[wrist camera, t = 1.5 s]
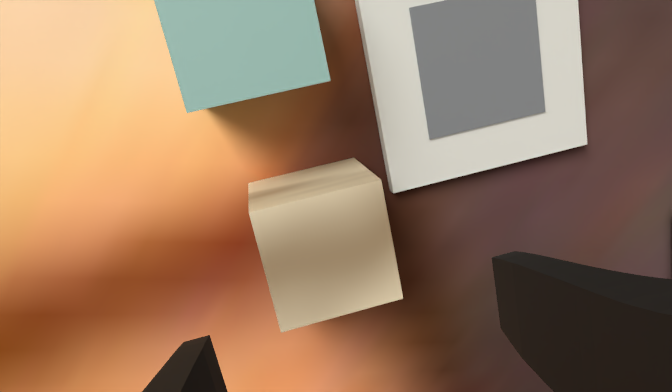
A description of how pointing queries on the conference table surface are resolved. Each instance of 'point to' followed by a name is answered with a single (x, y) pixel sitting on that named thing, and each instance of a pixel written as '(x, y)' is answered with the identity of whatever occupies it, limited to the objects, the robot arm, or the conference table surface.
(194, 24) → the teal cube
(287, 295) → the maple cube
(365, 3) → the white flat square plate
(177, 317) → the conference table surface
